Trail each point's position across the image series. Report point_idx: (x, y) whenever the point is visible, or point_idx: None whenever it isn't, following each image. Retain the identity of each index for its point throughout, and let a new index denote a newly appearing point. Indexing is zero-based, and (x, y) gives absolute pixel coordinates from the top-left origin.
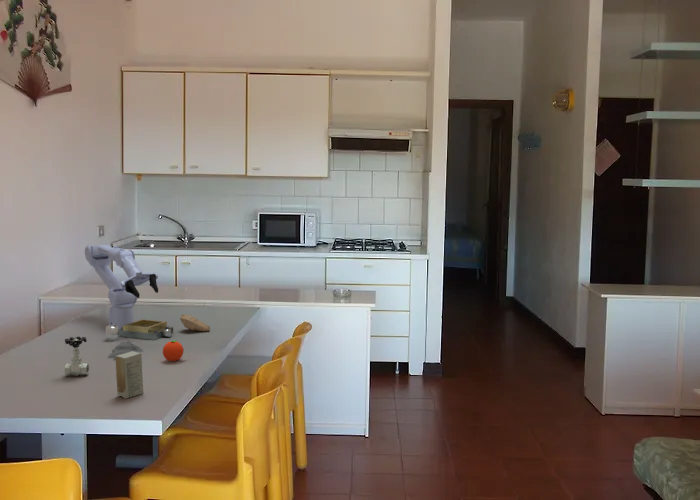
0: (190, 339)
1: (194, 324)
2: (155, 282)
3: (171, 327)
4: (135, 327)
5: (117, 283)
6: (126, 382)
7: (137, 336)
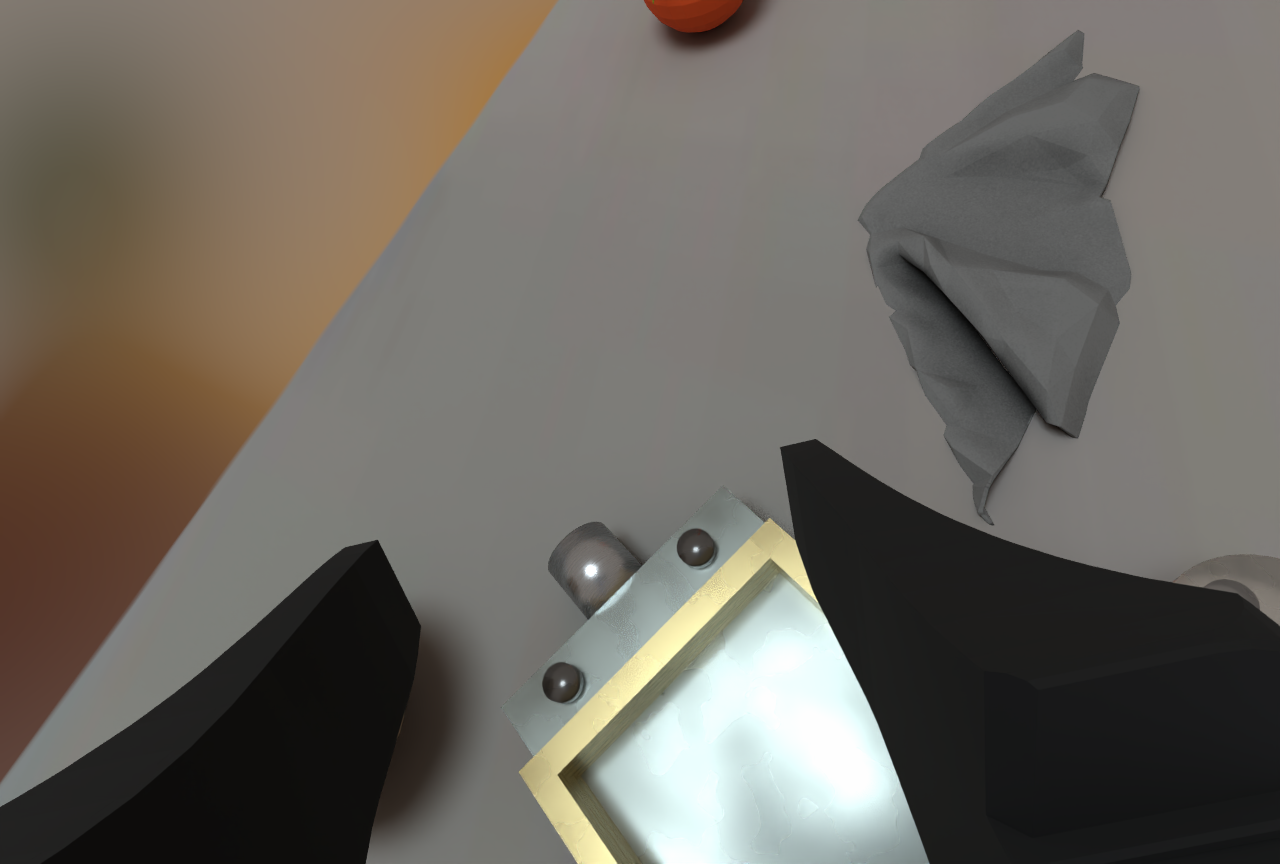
0: (484, 439)
1: None
2: (222, 664)
3: (518, 698)
4: None
5: None
6: None
7: None
